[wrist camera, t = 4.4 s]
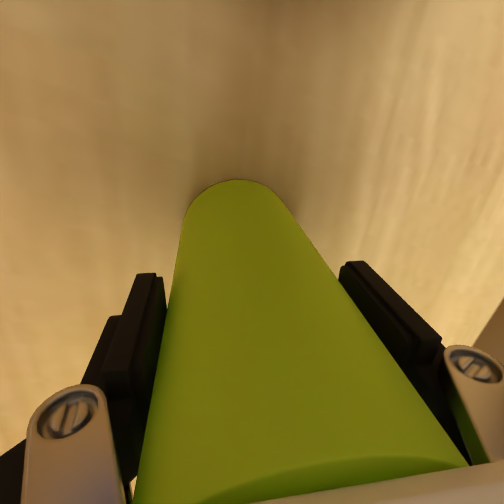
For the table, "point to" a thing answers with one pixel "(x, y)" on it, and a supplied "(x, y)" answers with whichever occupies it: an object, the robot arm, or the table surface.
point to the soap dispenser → (272, 370)
